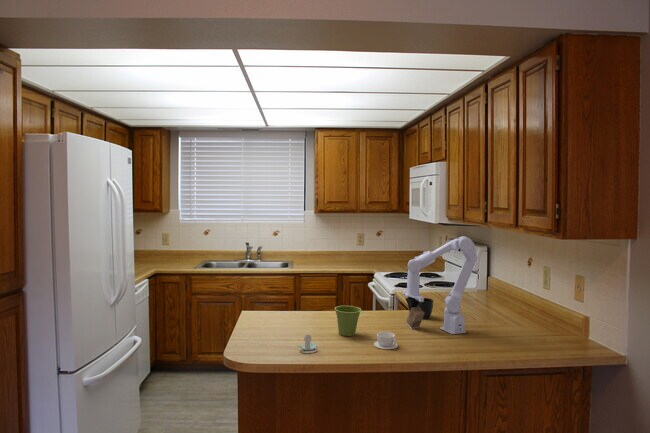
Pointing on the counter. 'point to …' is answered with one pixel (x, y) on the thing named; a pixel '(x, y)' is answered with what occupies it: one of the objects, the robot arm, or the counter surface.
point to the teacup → (385, 340)
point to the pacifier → (308, 345)
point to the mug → (426, 307)
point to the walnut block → (415, 317)
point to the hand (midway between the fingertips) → (412, 313)
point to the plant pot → (347, 319)
